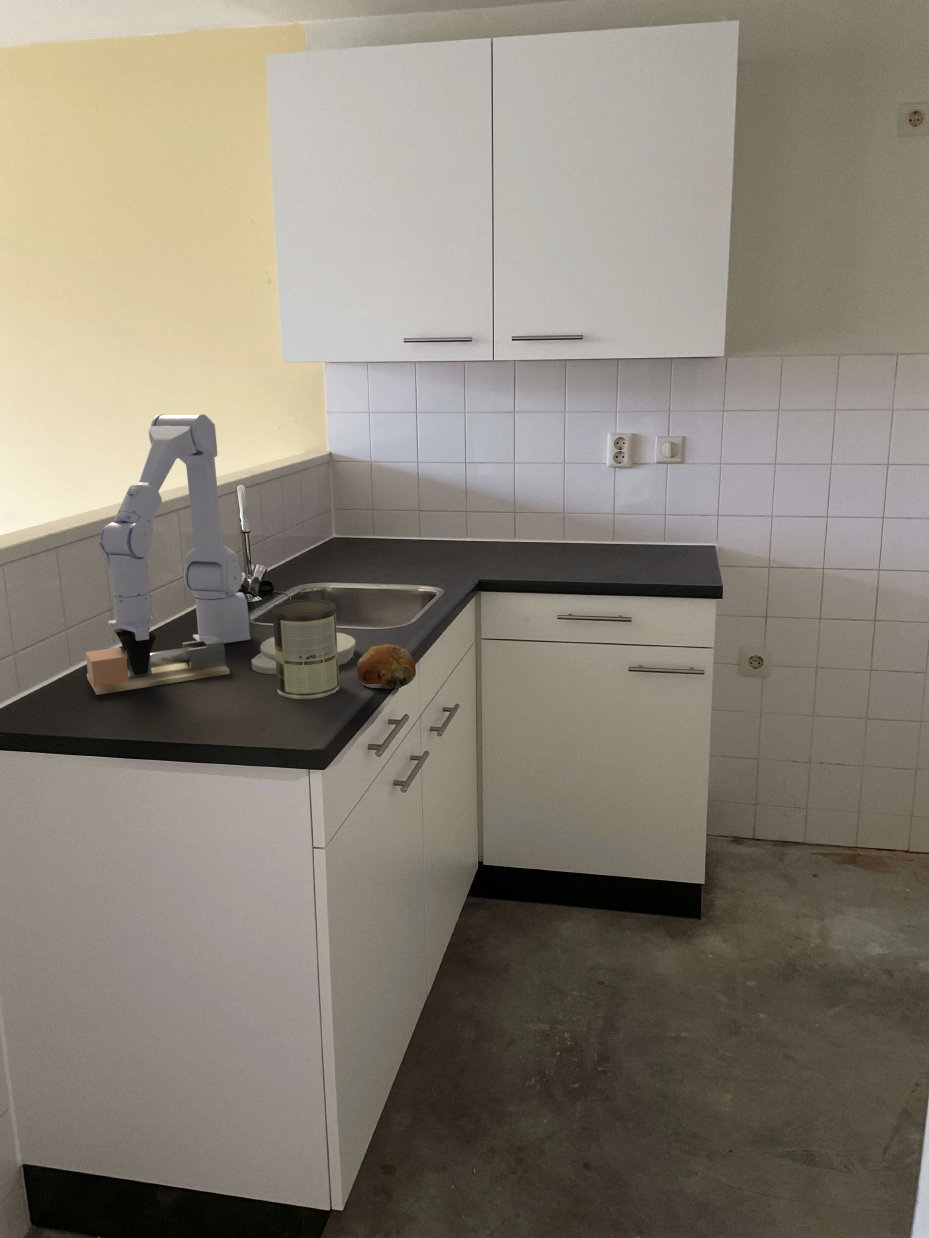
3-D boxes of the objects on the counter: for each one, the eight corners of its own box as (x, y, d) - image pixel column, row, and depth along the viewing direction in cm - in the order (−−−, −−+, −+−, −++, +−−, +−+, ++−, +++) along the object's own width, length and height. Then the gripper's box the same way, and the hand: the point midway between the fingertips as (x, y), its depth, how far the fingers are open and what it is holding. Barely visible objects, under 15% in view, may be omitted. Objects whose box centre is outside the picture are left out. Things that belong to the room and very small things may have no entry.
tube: (191, 662, 174) (189, 641, 173) (195, 667, 171) (194, 645, 170) (102, 675, 167) (100, 653, 166) (105, 680, 164) (103, 658, 164)
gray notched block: (217, 658, 177) (216, 634, 176) (225, 665, 173) (223, 641, 172) (184, 663, 175) (182, 639, 173) (191, 671, 170) (189, 646, 169)
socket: (122, 671, 170) (119, 647, 169) (128, 681, 165) (126, 656, 164) (88, 676, 168) (85, 651, 167) (94, 687, 162) (91, 661, 161)
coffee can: (263, 691, 162) (258, 607, 158) (311, 676, 169) (306, 596, 166) (306, 704, 155) (301, 617, 152) (353, 687, 163) (349, 604, 159)
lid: (228, 664, 177) (227, 648, 177) (314, 640, 192) (314, 626, 191) (289, 683, 166) (288, 666, 166) (376, 657, 181) (375, 641, 180)
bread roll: (416, 694, 171) (416, 648, 172) (415, 687, 160) (414, 638, 162) (359, 695, 170) (359, 649, 172) (354, 688, 160) (354, 640, 162)
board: (214, 659, 180) (214, 655, 179) (229, 673, 171) (229, 669, 171) (87, 678, 169) (86, 674, 169) (96, 694, 161) (95, 690, 161)
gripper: (98, 588, 169) (107, 663, 173) (113, 605, 157) (121, 686, 160) (141, 583, 173) (148, 657, 176) (158, 600, 160) (166, 679, 164)
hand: (138, 671), depth 168 cm, fingers closed on tube, 3 cm apart
